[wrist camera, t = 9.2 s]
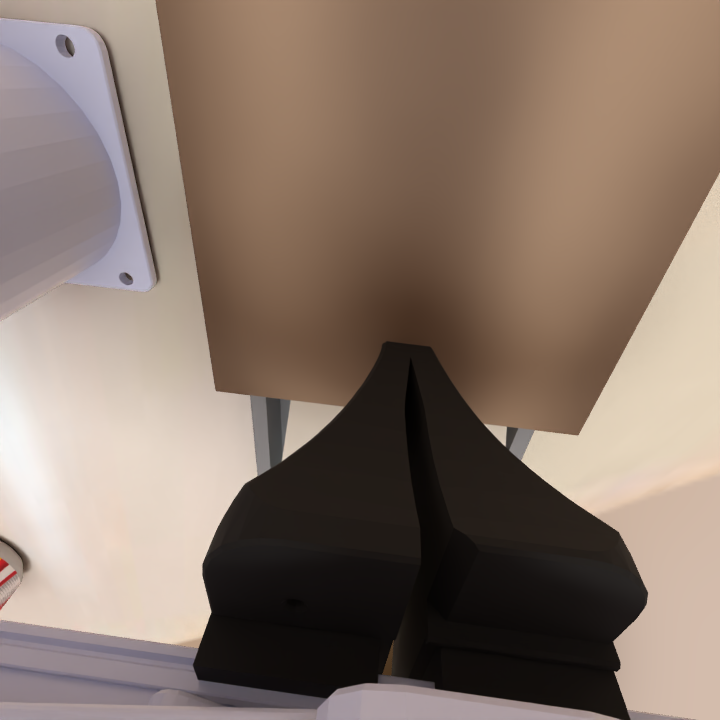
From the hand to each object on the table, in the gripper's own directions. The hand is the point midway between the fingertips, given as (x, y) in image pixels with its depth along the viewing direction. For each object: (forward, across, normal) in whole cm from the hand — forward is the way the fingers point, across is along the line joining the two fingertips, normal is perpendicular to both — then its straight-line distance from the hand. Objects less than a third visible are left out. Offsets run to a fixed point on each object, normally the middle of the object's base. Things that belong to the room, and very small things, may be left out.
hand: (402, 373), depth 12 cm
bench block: (+5, 0, -4) cm, 6 cm away
